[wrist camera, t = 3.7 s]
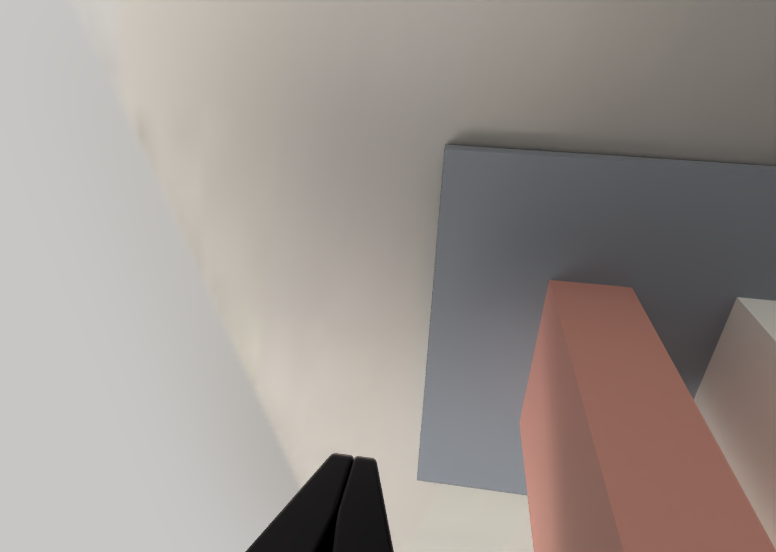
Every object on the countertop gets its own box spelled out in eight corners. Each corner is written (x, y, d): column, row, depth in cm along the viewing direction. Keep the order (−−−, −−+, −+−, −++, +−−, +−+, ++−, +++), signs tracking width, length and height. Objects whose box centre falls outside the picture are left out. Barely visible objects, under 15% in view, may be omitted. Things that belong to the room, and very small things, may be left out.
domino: (588, 430, 14) (748, 1024, 6) (519, 422, 14) (582, 984, 6) (632, 287, 11) (978, 920, 4) (549, 279, 12) (709, 865, 4)
